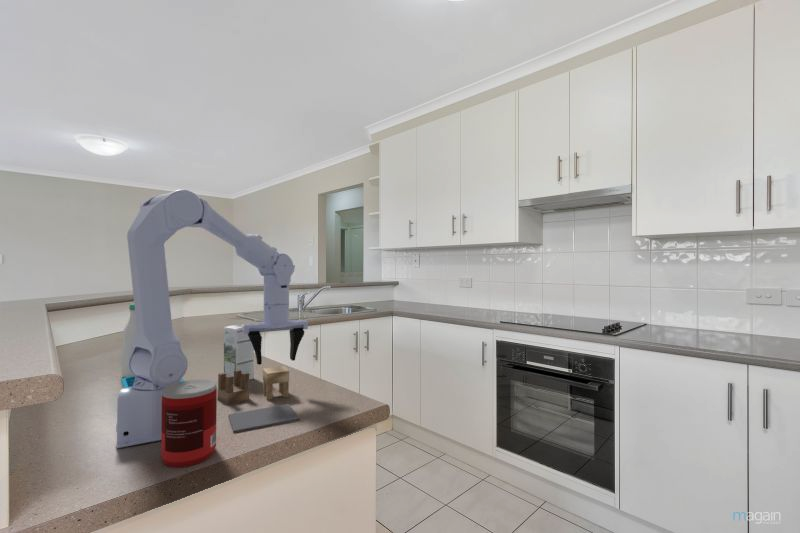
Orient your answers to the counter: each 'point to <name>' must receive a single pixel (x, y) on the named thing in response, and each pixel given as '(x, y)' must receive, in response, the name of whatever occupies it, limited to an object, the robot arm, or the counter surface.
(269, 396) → the oak stool
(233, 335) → the syrup box
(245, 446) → the counter surface
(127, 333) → the milk bottle
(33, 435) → the counter surface
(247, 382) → the upturned walnut stool
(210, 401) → the canned food
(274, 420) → the mat
